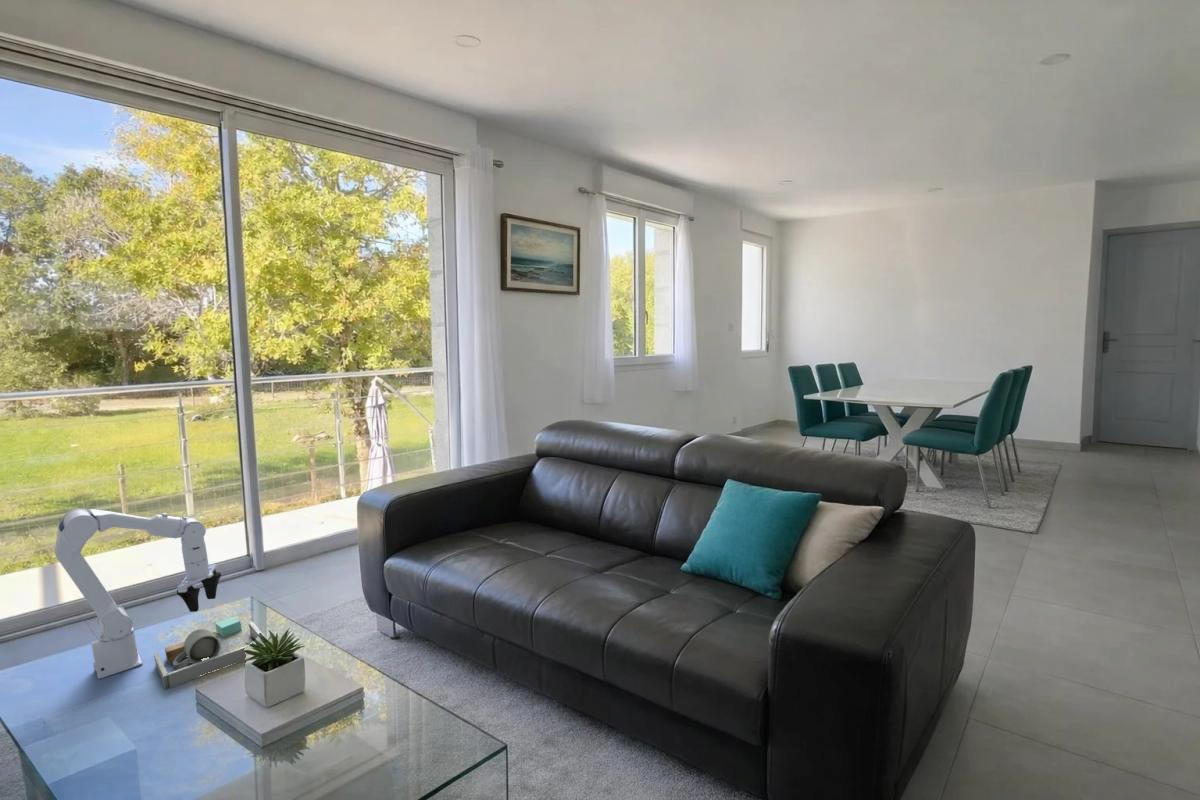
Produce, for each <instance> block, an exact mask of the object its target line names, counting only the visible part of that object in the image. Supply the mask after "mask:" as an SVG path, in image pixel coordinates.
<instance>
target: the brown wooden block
mask: <svg viewBox="0 0 1200 800" xmlns="http://www.w3.org/2000/svg"><path fill="white" fill-rule="evenodd" d="M212 633H213V634H214V635H215V636H216V637H217V638H218V639H219V637H218V633H217V631H213V632H212ZM184 643H185V641H182V642H179V643H175V644H173V645H170V646H167V647H164V652H165V657H166V662H167V663H168V664H171V663H173V661H174V660H175V658H176V657H177V656H178V655H179V654H181V653H182V652H183V651H184ZM185 657H186V656H185ZM186 658H187V657H186Z"/></svg>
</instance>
